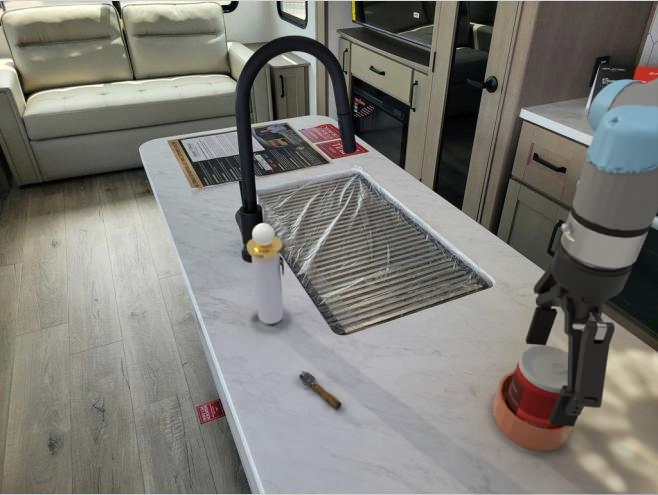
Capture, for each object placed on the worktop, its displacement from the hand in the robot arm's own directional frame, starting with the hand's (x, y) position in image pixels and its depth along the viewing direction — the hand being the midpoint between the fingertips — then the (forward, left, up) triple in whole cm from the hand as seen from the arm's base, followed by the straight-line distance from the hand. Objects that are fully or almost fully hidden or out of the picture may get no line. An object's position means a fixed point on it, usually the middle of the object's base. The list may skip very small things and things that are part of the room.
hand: (547, 379), depth 64 cm
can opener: (+31, -1, -8) cm, 32 cm away
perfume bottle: (+42, -16, -9) cm, 46 cm away
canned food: (0, 0, -8) cm, 8 cm away
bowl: (0, 0, -8) cm, 9 cm away
